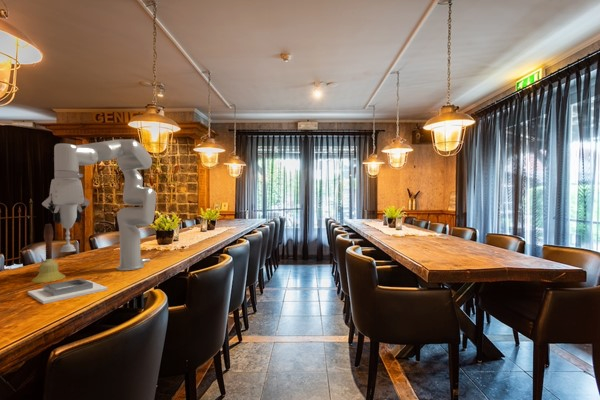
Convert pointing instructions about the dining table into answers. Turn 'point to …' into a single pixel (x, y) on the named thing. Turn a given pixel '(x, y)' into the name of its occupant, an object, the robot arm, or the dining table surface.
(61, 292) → the collar
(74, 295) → the board
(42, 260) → the lily
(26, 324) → the dining table surface
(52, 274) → the handbell
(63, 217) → the chalice
